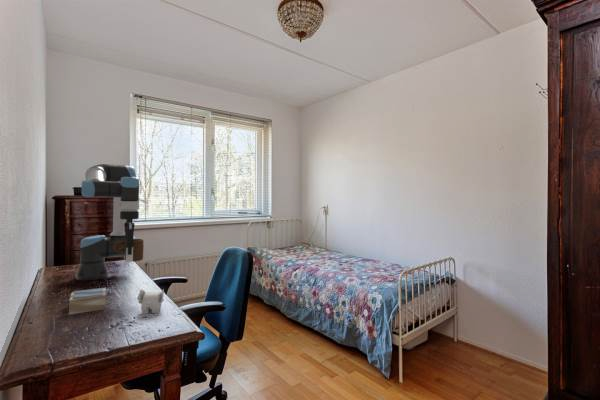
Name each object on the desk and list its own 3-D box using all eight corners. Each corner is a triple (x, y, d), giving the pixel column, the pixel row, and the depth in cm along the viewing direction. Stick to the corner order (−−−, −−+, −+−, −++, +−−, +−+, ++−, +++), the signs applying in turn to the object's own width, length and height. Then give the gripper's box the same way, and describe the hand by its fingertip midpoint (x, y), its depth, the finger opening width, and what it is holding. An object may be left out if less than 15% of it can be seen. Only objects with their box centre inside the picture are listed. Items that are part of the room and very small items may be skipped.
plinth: (71, 305, 128) (72, 291, 128) (105, 300, 135) (105, 287, 135) (69, 314, 118) (69, 299, 118) (105, 309, 124) (105, 294, 124)
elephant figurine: (168, 305, 131) (168, 284, 131) (160, 315, 119) (161, 292, 119) (144, 305, 129) (145, 285, 129) (134, 316, 117) (134, 293, 117)
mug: (113, 263, 134) (113, 242, 134) (113, 260, 141) (114, 239, 141) (143, 261, 140) (143, 240, 140) (142, 258, 146) (143, 238, 146)
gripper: (119, 209, 146) (118, 256, 147) (121, 211, 129) (120, 265, 129) (136, 209, 151) (135, 255, 151) (141, 211, 133) (140, 263, 134)
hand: (128, 260), depth 140 cm, fingers closed on mug, 7 cm apart
